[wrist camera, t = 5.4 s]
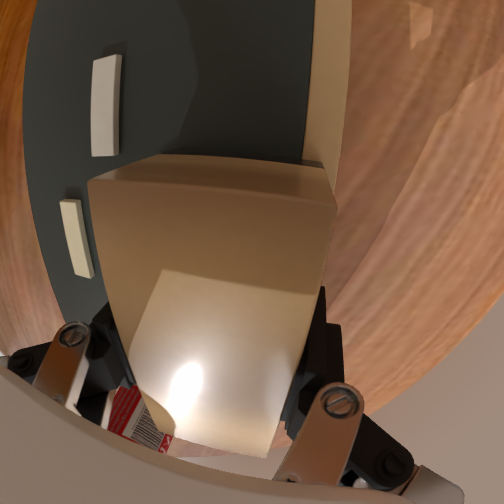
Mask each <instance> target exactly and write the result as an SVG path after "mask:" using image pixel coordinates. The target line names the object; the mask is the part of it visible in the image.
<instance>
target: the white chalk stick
mask: <svg viewBox="0 0 504 504" xmlns="http://www.w3.org/2000/svg"><path fill="white" fill-rule="evenodd" d="M121 63H122V55H117V54H115V55H112V56H108V57H104V58H100V59H97V60H94V61H93V73H92V89H91V150H92V156H93V157H94V156H115V155H118V154H119V94H120V76H121Z"/></svg>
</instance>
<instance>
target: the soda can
mask: <svg viewBox="0 0 504 504" xmlns="http://www.w3.org/2000/svg"><path fill="white" fill-rule="evenodd" d="M107 430H108V431H110V432H112V433H114V434H116V435H118V436H121V437H123V438H125V439H127V440H130V441H132V442H134V443H137V444H139V445H142V446H144V447H147V448H149V449H152V450H154V451H157V452H160V453H163V454H166V452H167V450H168V448H169V445H170V443H171V440H172V438H173V436H171V435H168V434H165V433H162V432H160V431H158V429H157V427H156V425H155V423H154V421H153V419H152V417H151V415H150V413H149V411H148V408H147V406H146V404H145V402H144V399H143V397H142V395H141V393H140V390H139V388H138V385H137V384H135V383H134V384H133V386H132V388H131V390H130V389H127V388H125V387H122V386H121V387H120V388H119V390H118V391H117V393H116V395H115V396H114V400H113V404H112V409H111V413H110V418H109V423H108V428H107Z"/></svg>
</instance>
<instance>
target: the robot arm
mask: <svg viewBox="0 0 504 504" xmlns="http://www.w3.org/2000/svg"><path fill="white" fill-rule="evenodd" d="M134 383H135V384H137V383H136V380H135V378H134V375H133V373H132V370H131V368H130V365H129V362H128V359H127V357H126V354H125V351H124V348H123V345H122V342H121V339H120V336H119V333H118V330H117V327H116V324H115V321H114V317H113V314H112V310H111V307H110V303H109V301H108V302H107V303H106V304H105V305H104V306H103V307H102V308H101V310H100V311H99V312H98V313H97V314H96V315H95V316H94V317H93V318H92V322H91V323H90V325H88V324H86V323H85V322H81V321H73V322H69V323H67V324H65V325H63V326H62V327H61V328H60V329H59V330H58V332H57V333H56V335H55V337H54V339H53V341H52V342H48V343H44V344H40V345H36V346H32V347H28V348H23V349H20V350H18V351H16V352H15V353H13V355H12V356H11V357H10V356H1V357H0V504H464V493H463V490H462V489H461V488H460V487H459V486H457V485H455V484H453V483H452V482H450V481H448V480H446V479H445V478H443V477H441V476H440V475H438V474H436V473H434V472H433V471H431V470H430V469H428V468H426V467H425V466H423V465H421V466H417V465H415V464H414V459H413V457H412V455H411V453H410V452H409V451H408V450H407V449H406V448H405V447H403V446H402V445H401V444H400V443H398V442H397V441H396V440H395V439H394V438H392V437H391V436H390V435H389V434H388V433H386V432H385V431H384V430H383V429H382V428H380V427H379V426H378V425H377V424H376V423H375V422H373V421H372V420H371V419H370V418H369V417H368V416H366V415H365V414H364V413H363V411H364V400H363V396H362V395H361V394H360V392H359V391H358V390H357V389H356V388H354V387H353V386H351V385H349V384H346V383H344V362H343V347H342V334H341V326H340V325H339V324H331V323H326V298H325V287H324V286H321V287H320V291H319V295H318V299H317V303H316V306H315V310H314V314H313V318H312V321H311V325H310V329H309V332H308V336H307V339H306V343H305V346H304V350H303V353H302V356H301V360H300V363H299V366H298V368H297V370H296V373H295V377H294V380H293V383H292V386H291V389H290V392H289V395H288V398H287V401H286V404H285V407H284V410H283V413H282V416H281V419H280V421H286V422H285V429H286V430H287V435H288V436H289V437H290V438H291V439H292V440H293V443H292V445H291V446H290V449H289V450H288V452H287V454H286V456H285V458H284V460H283V462H282V463H281V465H280V467H279V469H278V470H277V472H276V474H275V476H274V477H273V479H272V480H267V479H261V478H254V477H249V476H243V475H238V474H233V473H229V472H224V471H220V470H216V469H212V468H208V467H204V466H200V465H197V464H194V463H190V462H187V461H184V460H181V459H177V458H174V457H171V456H168V455H166V454H163V453H160V452H157V451H154V450H152V449H149V448H147V447H144V446H142V445H139V444H137V443H134V442H132V441H130V440H127V439H125V438H123V437H121V436H118V435H116V434H114V433H112V432H110V431H108V430H107V428H108V423H109V418H110V413H111V409H112V404H113V400H114V396H115V392H116V389H117V388H118V387H119V385H120V386H122V387H125V388H127V389H130V390H131V388H132V386H133V384H134Z"/></svg>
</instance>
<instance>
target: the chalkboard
mask: <svg viewBox="0 0 504 504" xmlns="http://www.w3.org/2000/svg"><path fill="white" fill-rule="evenodd" d="M351 29H352V0H38V1H37V5H36V9H35V13H34V17H33V21H32V26H31V31H30V36H29V42H28V49H27V56H26V64H25V74H24V87H23V144H24V157H25V168H26V177H27V184H28V191H29V197H30V203H31V209H32V214H33V219H34V224H35V228H36V233H37V237H38V241H39V245H40V249H41V252H42V256H43V259H44V263H45V266H46V270H47V273H48V276H49V279H50V282H51V285H52V288H53V291H54V294H55V297H56V299H57V302H58V305H59V307H60V310H61V312H62V315H63V317H64V320H65V322H66V324H67V323H69V322H73V321H81V322H85V323H86V324H88V325H90V323H91V322H92V318H93V317H94V316H95V315H96V314H97V313H98V312H99V311H100V310H101V308H102V307H103V306H104V305H105V304H106V303H107V302H108V301H109V300H108V296H107V292H106V288H105V284H104V280H103V276H102V271H101V267H100V262H99V258H98V253H97V248H96V242H95V237H94V231H93V225H92V219H91V212H90V205H89V197H88V188H87V182H88V180H90V179H92V178H94V177H97V176H99V175H102V174H104V173H107V172H109V171H112V170H114V169H117V168H120V167H122V166H125V165H128V164H131V163H133V162H136V161H139V160H142V159H145V158H148V157H151V156H154V155H157V154H161V153H163V152H167V151H170V150H173V149H197V150H216V151H231V152H243V153H254V154H264V155H273V156H282V157H290V158H297V159H304V160H311V161H318V162H322V163H323V166H324V168H325V171H326V174H327V177H328V180H329V182H330V185H331V188H332V191H333V194H334V191H335V185H336V179H337V173H338V166H339V159H340V152H341V145H342V137H343V129H344V121H345V112H346V102H347V92H348V81H349V67H350V52H351ZM115 54H117V55H122V63H121V76H120V94H119V154H118V155H115V156H94V157H93V156H92V150H91V89H92V73H93V61H94V60H97V59H100V58H104V57H108V56H112V55H115ZM63 199H76V200H81V206H82V213H83V219H84V225H85V231H86V236H87V242H88V247H89V251H90V256H91V261H92V265H93V269H94V273H95V275H94V276H93V277H92V278H91V279H90V278H86V277H83V276H79V275H76V274H75V271H74V268H73V264H72V260H71V256H70V252H69V248H68V243H67V239H66V234H65V229H64V224H63V219H62V213H61V207H60V201H61V200H63Z"/></svg>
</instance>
